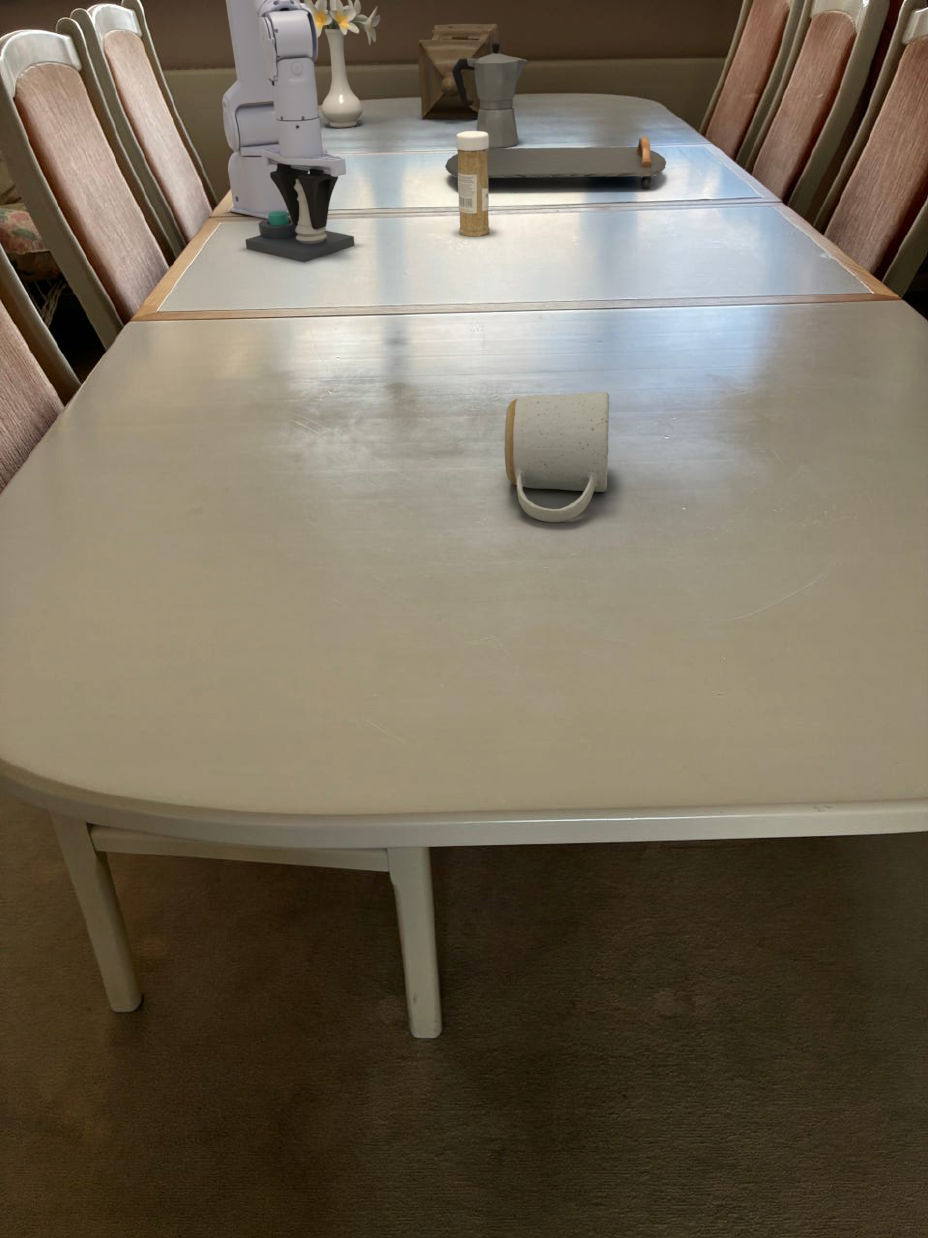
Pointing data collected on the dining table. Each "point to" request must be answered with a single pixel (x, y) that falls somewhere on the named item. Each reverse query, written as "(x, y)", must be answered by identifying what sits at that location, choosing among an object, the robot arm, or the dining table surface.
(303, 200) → the rook chess piece
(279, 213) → the button
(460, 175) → the sprinkles bottle
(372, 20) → the flower vase
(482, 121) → the coffeepot
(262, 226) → the dark grey flat block
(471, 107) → the ornamental box
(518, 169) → the serving tray
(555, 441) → the ceramic mug
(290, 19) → the robot arm
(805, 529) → the dining table surface
